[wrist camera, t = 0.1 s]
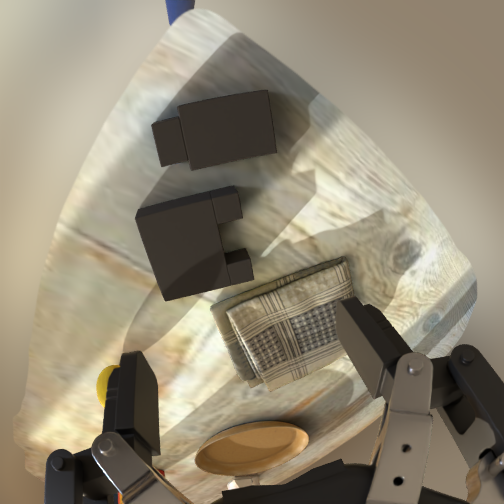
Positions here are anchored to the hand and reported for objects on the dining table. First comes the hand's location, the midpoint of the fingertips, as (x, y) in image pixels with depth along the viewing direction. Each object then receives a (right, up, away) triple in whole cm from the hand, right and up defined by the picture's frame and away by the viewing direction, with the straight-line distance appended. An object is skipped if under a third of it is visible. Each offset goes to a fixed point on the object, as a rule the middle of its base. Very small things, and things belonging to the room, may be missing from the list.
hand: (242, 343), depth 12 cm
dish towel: (+6, -7, +30) cm, 31 cm away
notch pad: (-6, +5, +21) cm, 22 cm away
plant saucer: (0, -37, +45) cm, 58 cm away
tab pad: (-3, +15, +16) cm, 22 cm away
